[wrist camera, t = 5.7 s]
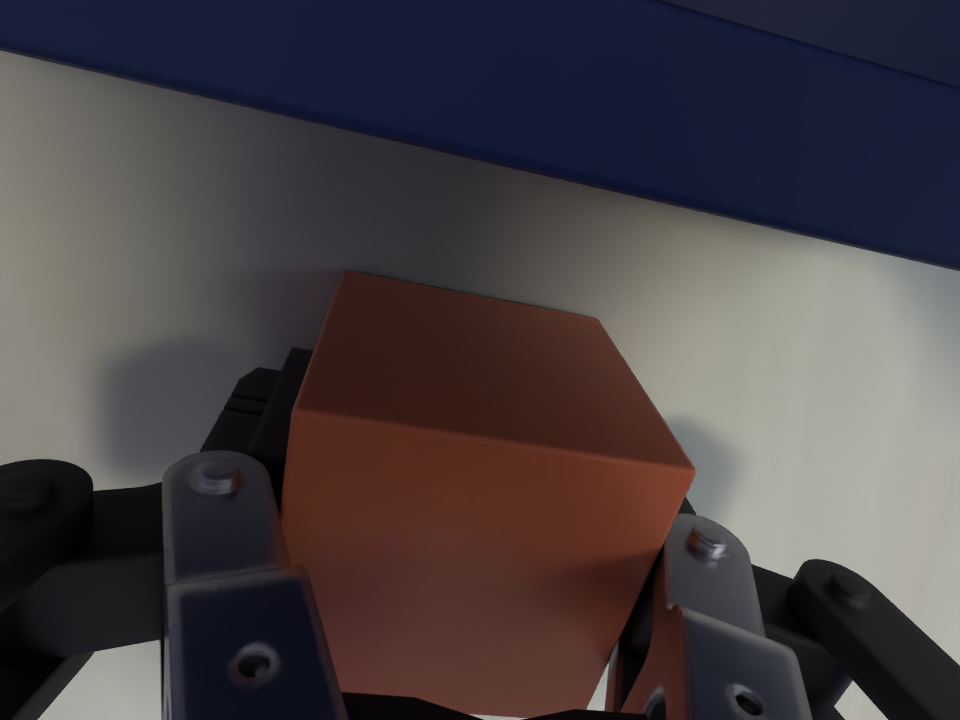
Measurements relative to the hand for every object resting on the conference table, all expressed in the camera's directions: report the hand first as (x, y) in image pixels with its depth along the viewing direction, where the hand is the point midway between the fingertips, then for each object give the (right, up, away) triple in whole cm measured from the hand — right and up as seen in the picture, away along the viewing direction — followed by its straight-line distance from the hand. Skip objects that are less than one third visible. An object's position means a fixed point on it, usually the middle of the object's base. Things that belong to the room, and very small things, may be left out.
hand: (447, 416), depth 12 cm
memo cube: (0, 0, 0) cm, 0 cm away
